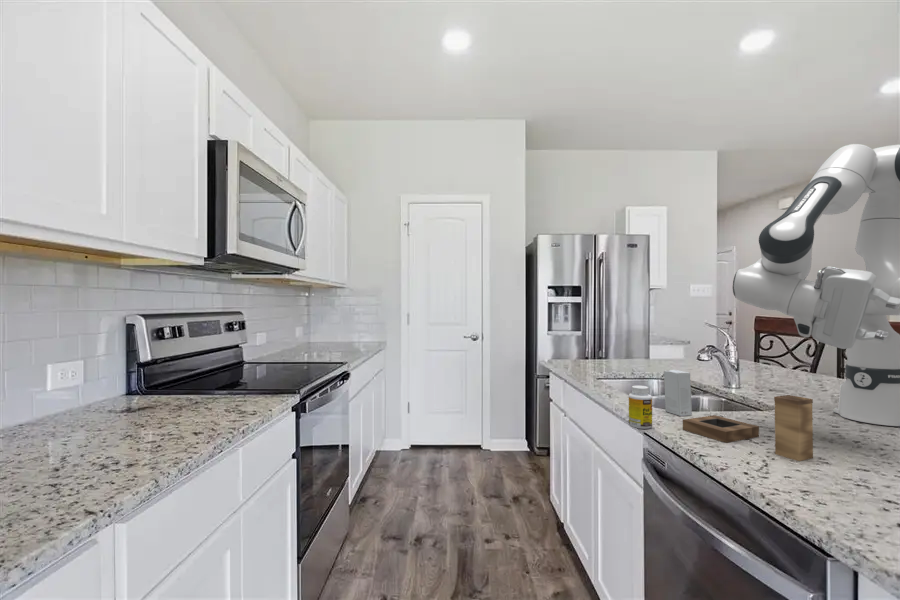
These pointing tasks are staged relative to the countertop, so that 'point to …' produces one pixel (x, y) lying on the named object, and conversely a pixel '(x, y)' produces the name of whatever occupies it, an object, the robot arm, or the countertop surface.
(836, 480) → the countertop surface
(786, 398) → the peg
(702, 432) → the wooden square frame
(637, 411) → the supplement bottle
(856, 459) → the countertop surface
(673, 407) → the skincare box
